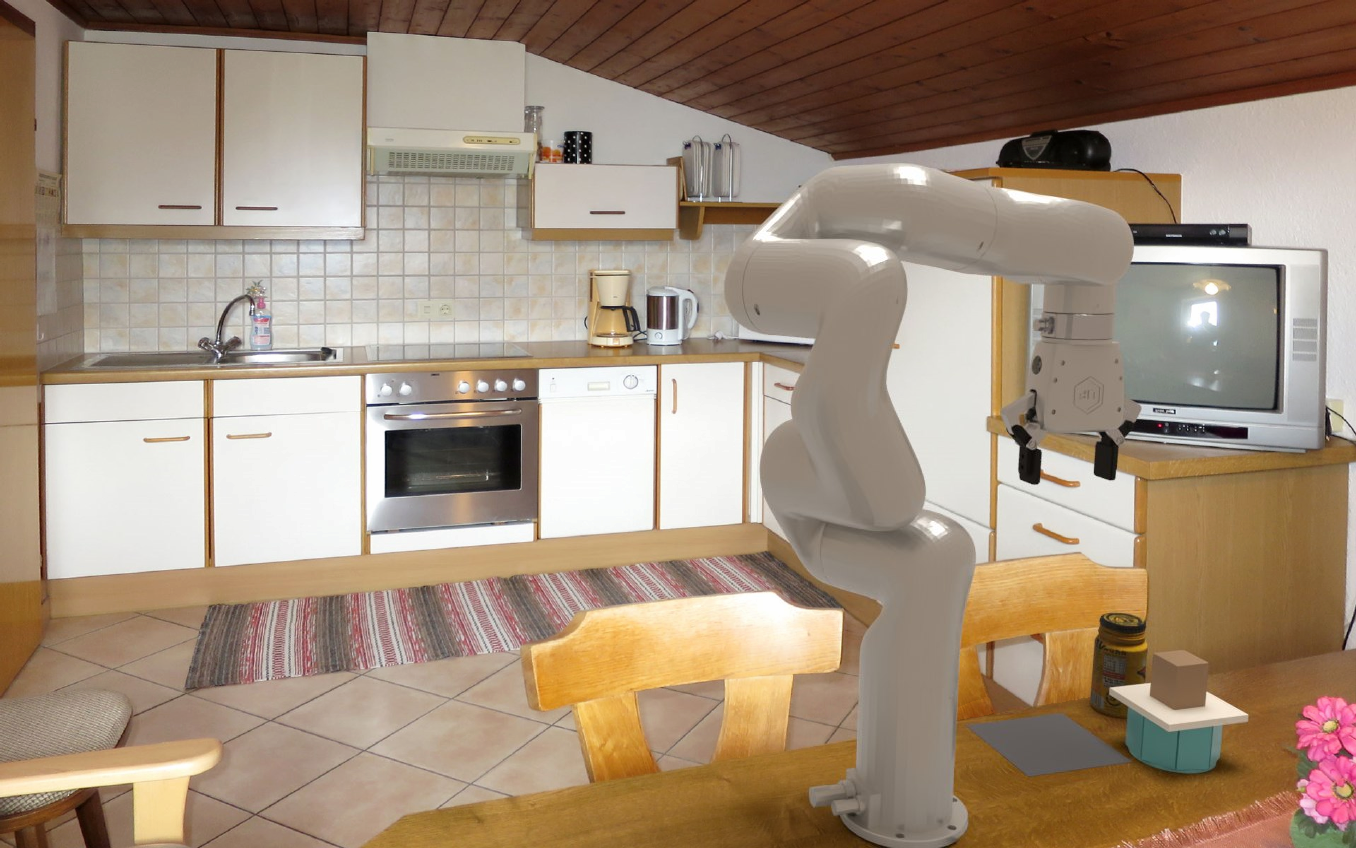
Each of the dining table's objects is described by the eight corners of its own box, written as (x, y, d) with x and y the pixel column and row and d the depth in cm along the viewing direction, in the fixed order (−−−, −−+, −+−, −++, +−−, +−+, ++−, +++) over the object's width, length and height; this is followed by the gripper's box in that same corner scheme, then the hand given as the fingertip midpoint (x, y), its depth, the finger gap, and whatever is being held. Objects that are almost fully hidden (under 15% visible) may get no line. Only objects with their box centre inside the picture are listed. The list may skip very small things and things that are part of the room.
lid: (1168, 732, 117) (1172, 679, 116) (1109, 694, 126) (1112, 646, 125) (1247, 721, 119) (1252, 670, 118) (1183, 685, 129) (1187, 638, 128)
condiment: (1158, 716, 135) (1165, 621, 133) (1115, 732, 130) (1122, 635, 128) (1105, 695, 141) (1112, 604, 139) (1062, 710, 136) (1069, 617, 134)
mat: (1028, 781, 118) (1028, 776, 118) (965, 729, 131) (965, 725, 130) (1132, 766, 122) (1132, 761, 122) (1061, 717, 134) (1061, 713, 134)
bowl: (1150, 779, 119) (1155, 726, 118) (1114, 741, 128) (1117, 692, 127) (1232, 777, 119) (1237, 725, 118) (1190, 739, 128) (1194, 691, 127)
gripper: (1026, 333, 117) (1017, 491, 120) (1166, 330, 121) (1154, 483, 124) (989, 327, 124) (981, 477, 127) (1122, 325, 128) (1112, 470, 131)
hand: (1067, 480), depth 125 cm, fingers open, 9 cm apart
